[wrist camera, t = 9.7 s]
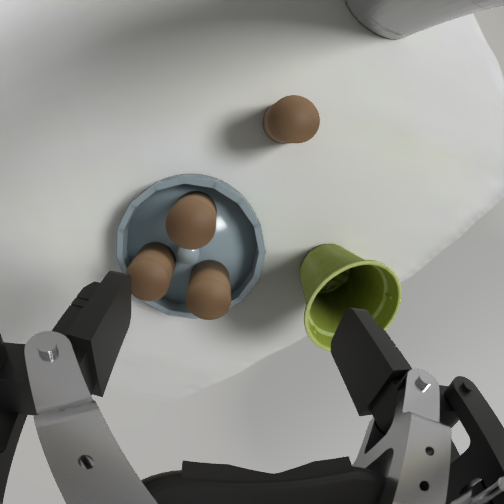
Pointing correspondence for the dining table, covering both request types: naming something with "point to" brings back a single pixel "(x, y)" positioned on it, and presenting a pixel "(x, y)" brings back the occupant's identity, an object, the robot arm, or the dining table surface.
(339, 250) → the plant pot
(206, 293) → the seated bead
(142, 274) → the seated bead
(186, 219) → the brown rounded dome
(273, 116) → the pile bead
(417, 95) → the dining table surface
